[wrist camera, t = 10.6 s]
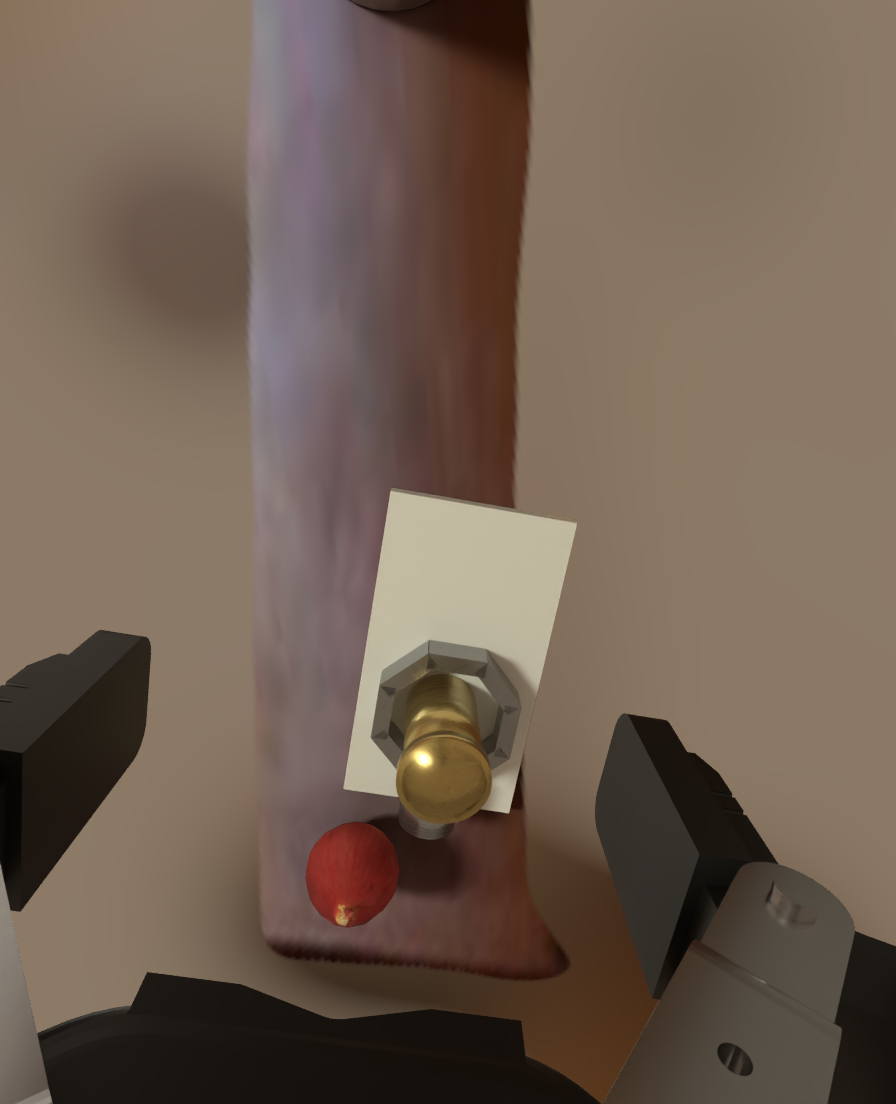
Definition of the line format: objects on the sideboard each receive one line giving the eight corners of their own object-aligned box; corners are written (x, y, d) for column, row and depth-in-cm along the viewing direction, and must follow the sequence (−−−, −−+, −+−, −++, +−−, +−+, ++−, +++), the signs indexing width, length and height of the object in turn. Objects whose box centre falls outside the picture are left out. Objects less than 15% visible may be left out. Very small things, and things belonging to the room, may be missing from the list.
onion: (408, 862, 49) (402, 958, 41) (327, 874, 49) (306, 972, 41) (392, 790, 47) (383, 876, 39) (308, 803, 47) (282, 891, 40)
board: (392, 487, 41) (390, 490, 40) (574, 519, 42) (577, 523, 41) (345, 779, 47) (343, 789, 46) (507, 803, 47) (509, 813, 46)
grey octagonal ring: (388, 633, 43) (383, 658, 39) (526, 655, 43) (533, 681, 40) (361, 792, 46) (355, 829, 42) (490, 812, 46) (494, 849, 43)
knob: (407, 664, 43) (403, 735, 36) (487, 675, 44) (500, 747, 36) (396, 735, 45) (389, 817, 37) (473, 745, 45) (482, 829, 37)
